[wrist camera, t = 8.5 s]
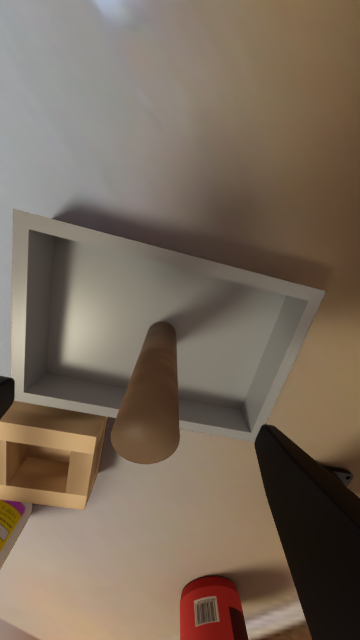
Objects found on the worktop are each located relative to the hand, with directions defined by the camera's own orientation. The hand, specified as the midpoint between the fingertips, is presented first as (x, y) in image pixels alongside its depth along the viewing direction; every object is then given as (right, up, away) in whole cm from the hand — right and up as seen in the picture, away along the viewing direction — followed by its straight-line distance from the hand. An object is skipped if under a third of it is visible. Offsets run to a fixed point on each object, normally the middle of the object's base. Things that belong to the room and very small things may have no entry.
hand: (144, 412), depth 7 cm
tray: (0, +2, +8) cm, 9 cm away
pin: (0, +2, +8) cm, 8 cm away
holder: (-10, -7, +11) cm, 16 cm away
